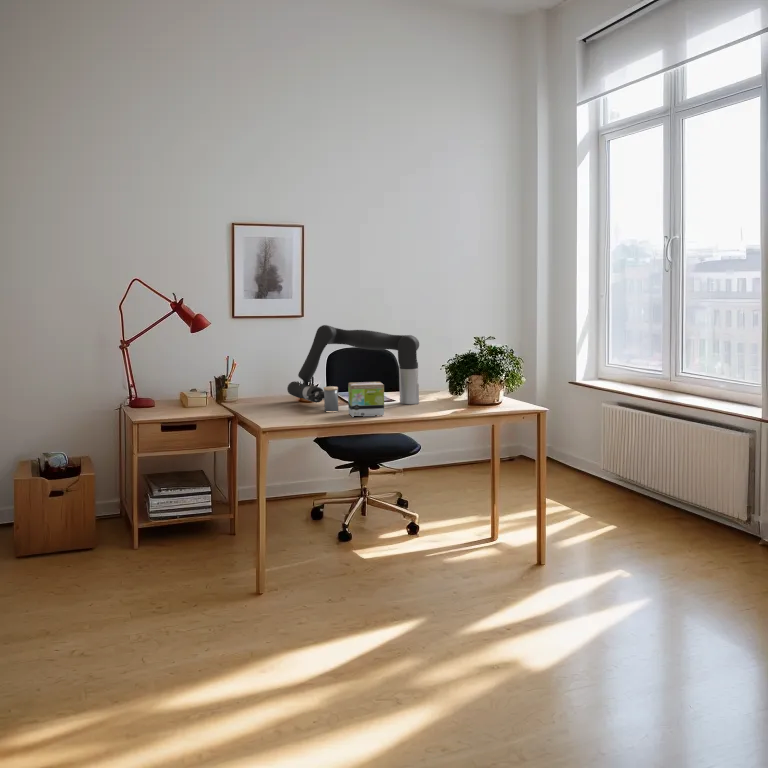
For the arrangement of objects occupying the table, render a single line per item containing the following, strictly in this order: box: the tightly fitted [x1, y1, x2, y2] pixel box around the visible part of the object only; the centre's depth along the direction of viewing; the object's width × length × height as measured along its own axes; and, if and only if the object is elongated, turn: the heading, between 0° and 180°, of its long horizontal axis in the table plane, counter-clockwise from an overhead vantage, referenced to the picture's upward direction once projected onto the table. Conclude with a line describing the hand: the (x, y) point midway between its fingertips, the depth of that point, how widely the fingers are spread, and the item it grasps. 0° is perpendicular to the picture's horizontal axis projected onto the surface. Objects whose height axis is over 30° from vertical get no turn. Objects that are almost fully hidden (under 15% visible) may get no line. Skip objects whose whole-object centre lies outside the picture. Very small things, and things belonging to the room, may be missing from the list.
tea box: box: [347, 381, 385, 418], centre depth 364 cm, size 15×10×15 cm
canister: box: [323, 385, 339, 412], centre depth 376 cm, size 7×7×11 cm
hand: (329, 397), depth 377 cm, fingers open, 8 cm apart
